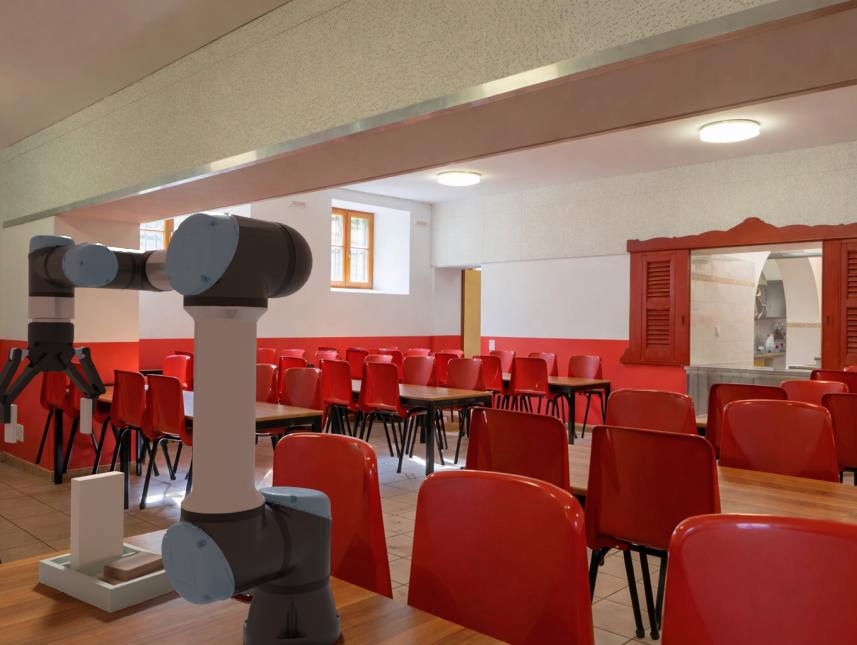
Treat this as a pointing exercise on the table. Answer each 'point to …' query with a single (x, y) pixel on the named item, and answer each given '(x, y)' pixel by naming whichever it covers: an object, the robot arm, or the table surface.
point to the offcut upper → (134, 566)
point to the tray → (97, 592)
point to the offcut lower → (115, 581)
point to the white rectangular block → (96, 518)
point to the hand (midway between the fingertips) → (49, 437)
